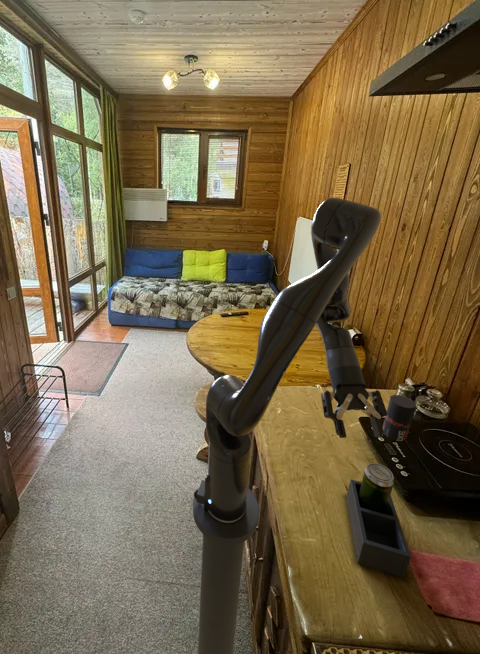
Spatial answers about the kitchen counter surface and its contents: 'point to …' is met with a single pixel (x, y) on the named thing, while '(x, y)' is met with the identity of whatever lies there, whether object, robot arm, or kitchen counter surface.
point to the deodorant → (398, 417)
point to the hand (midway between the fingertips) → (361, 437)
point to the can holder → (377, 535)
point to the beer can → (376, 488)
